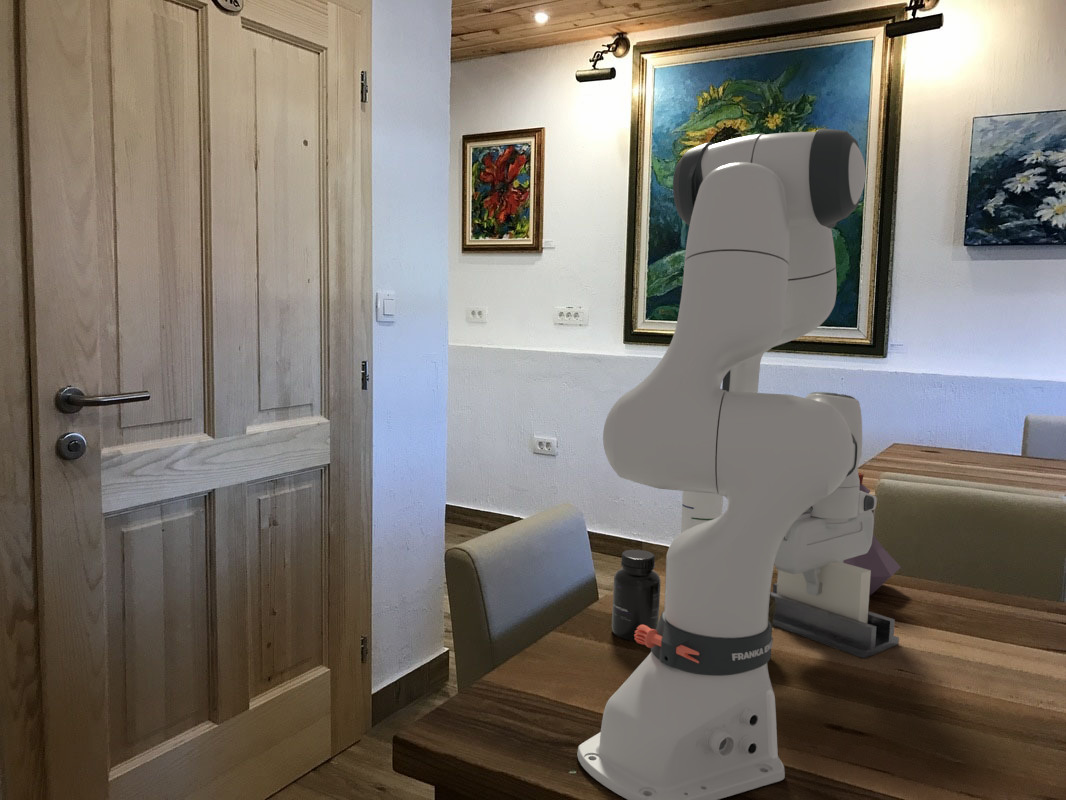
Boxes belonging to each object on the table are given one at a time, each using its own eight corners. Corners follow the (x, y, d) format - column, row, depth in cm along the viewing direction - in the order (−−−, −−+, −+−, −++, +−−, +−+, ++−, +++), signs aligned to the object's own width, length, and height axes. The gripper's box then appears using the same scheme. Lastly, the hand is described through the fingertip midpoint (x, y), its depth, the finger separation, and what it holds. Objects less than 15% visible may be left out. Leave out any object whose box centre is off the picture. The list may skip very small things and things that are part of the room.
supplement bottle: (606, 638, 124) (609, 557, 123) (617, 622, 131) (619, 545, 129) (653, 645, 122) (656, 562, 121) (662, 628, 128) (665, 550, 127)
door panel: (867, 624, 124) (870, 570, 123) (858, 627, 123) (861, 573, 122) (785, 597, 135) (788, 547, 134) (776, 599, 134) (778, 549, 133)
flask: (891, 577, 156) (899, 468, 153) (907, 607, 140) (916, 486, 138) (797, 568, 160) (803, 462, 157) (802, 597, 144) (808, 479, 142)
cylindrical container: (696, 564, 161) (701, 432, 158) (727, 574, 155) (733, 437, 153) (671, 571, 156) (676, 435, 153) (702, 582, 151) (708, 441, 148)
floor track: (898, 644, 124) (900, 617, 124) (863, 658, 119) (865, 630, 118) (782, 604, 140) (783, 580, 139) (747, 615, 134) (748, 591, 134)
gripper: (803, 514, 118) (797, 611, 120) (883, 496, 131) (877, 584, 132) (765, 505, 123) (760, 599, 125) (846, 489, 136) (840, 574, 137)
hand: (821, 591), depth 129 cm, fingers closed on door panel, 2 cm apart
